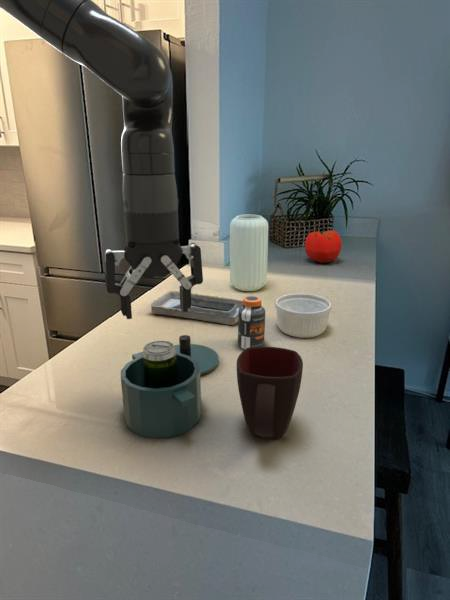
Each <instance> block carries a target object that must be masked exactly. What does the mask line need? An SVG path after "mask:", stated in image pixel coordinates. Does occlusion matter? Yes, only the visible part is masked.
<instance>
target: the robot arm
mask: <svg viewBox="0 0 450 600" xmlns="http://www.w3.org/2000/svg"><path fill="white" fill-rule="evenodd" d="M0 9H1V10H3V11H4V12H5V13H6V14H8V15H9V16H10V17H12V18H13V19H14V20H16V21H17V22H19V23H20V24H21V25H23V26H24V27H25V28H27V29H28V30H29V31H30V32H32V33H33V34H35V35H36V36H38V37H39V38H40V39H42V40H43V41H44V42H46V43H47V44H49V45H50V46H52V47H53V48H54V49H56V50H57V51H58V52H60V53H61V54H63V55H65V56H66V57H67V58H69V59H70V60H71V61H74V62H75V63H77V64H79V65H81V66H84V67H85V68H86V69H88V70H89V71H90V72H91V73H92V74H94V75H95V76H96V77H97V78H98V79H100V80H101V81H102V82H104V83H105V84H106V85H107V86H109V88H111V89H113V90H114V91H115V92H116V93H118V94H119V95H120V96H121V98H122V99H121V100H122V112H123V130H122V132H121V141H120V146H121V147H120V150H121V153H120V154H121V166H122V204H123V205H122V206H123V217H124V218H123V219H124V229H125V247H124V249H123V250H113V249H111V248H107V249H105V250H104V252H103V253H104V278H105V279H104V280H105V281H104V282H105V289H106V292H107V293H108V294H115V295H116V294H117V295H118V296H119V304H120V306H119V307H120V312H121V314H122V316H123V317H126V320H132V319H133V314H132V300H131V299H132V298H131V293H130V292H131V290H132V289H133V288H134V286H135V285H137V284H138V283H139V280H140V279H141V277H142V278H144V279H152V278H155V277H158V278H166V277H167V276H168V275H170V274H172V275H173V277H174V278H175V279H176V280H177V281H178V282H179V284H180V286H179V292H180V308H181V310H182V312H188V308H190V307H191V306H192V305H191V293H192V288H193V287H195V286H196V285H202V284H203V282H204V274H203V263H202V250H201V247H200V246H199V245H198V244H196V243H195V242H191V243H189V245H182V246H181V244H180V236H179V235H180V232H179V198H178V187H177V181H176V174H175V172H176V171H175V170H176V169H175V168H176V167H175V147H174V140H173V131H172V129H173V101H174V100H173V97H174V96H173V95H174V91H173V88H174V87H173V86H174V85H173V84H174V83H173V75H172V71H171V68H170V67H171V66H170V65H169V62H168V59H167V57H166V56H165V54H164V53H163V52H162V50H161V49H160V48H159V47H157V45H156V44H154V43H153V42H151V41H150V40H149V39H147V38H146V37H145V36H144V35H142V34H140V33H139V32H137V31H136V30H134V29H133V28H131V27H130V26H128V25H126V24H124V23H123V22H122V21H120V20H118V19H116V17H114V16H112V15H109V14H108V13H107V12H106V11H105V10H104V9H102V8H101V7H100V6H99V5H98V4H97V3H96V2H94V0H0ZM183 255H185V258H186V259H187V260H189V265H190V275H187V276H186V275H184V273H183V272H182V271H181V270H180V269H179V267H178V266H177V264H178V262H179V261H180V259H182V256H183ZM123 259H124V260H125V261H126V262H127V263H128V265H130V266H129V268H128V270H127V271H126V272H125V274H124V276H123V278H122V279H121V281H120V283H119V282H116V267H118V266H119V265H120V264H121V261H122V260H123Z"/></svg>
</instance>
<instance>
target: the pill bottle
mask: <svg viewBox="0 0 450 600" xmlns="http://www.w3.org/2000/svg"><path fill="white" fill-rule="evenodd" d="M242 301H243V306H241V307H240V308H239V310H238V321H237V345H238V347H239V348H240V349H242V350H245V349H246V348H250V347H265V332H266V309H265V308H264V306H262V298H261V297H260V296H258V295H246V296H244V297H243V298H242Z"/></svg>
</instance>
